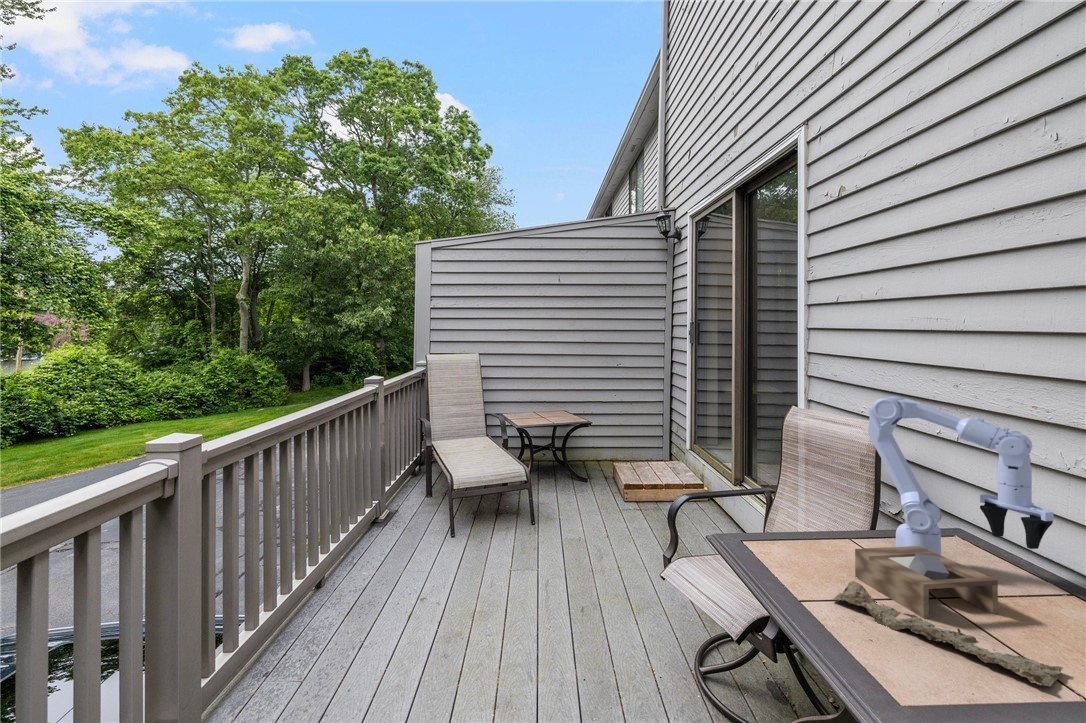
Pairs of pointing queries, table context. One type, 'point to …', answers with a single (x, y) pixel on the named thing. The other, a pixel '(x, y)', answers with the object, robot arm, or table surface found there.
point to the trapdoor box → (922, 579)
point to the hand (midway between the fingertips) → (1014, 542)
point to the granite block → (929, 567)
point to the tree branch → (949, 637)
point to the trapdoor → (903, 560)
